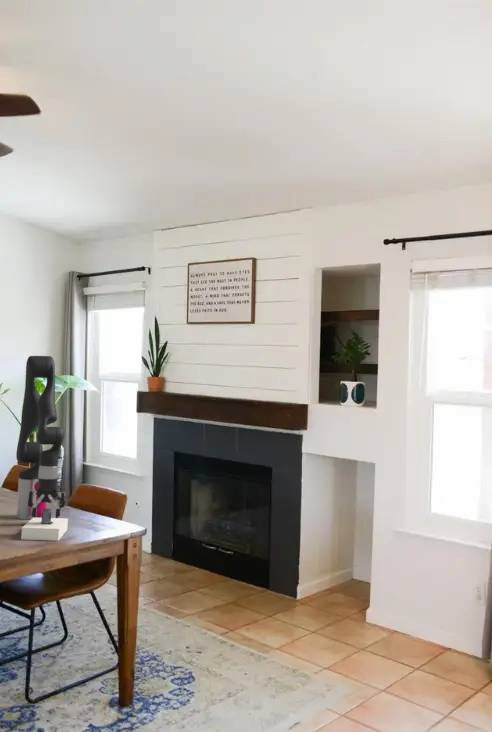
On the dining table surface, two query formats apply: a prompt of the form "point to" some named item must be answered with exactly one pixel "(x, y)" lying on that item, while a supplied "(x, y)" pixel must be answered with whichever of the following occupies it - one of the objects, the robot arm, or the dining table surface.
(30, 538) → the hole block
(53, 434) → the robot arm
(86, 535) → the dining table surface
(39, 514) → the pepper mill
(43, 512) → the peg
